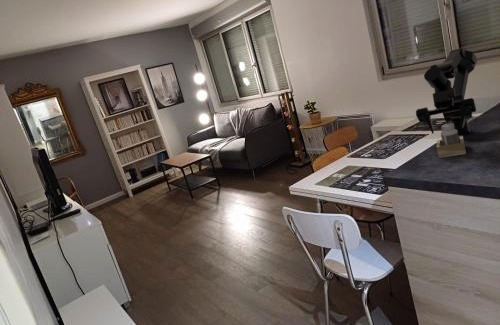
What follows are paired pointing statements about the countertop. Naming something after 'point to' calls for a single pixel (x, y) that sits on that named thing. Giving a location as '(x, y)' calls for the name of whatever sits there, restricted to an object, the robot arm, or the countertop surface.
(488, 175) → the countertop surface
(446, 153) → the birch socket stand
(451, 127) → the pill bottle
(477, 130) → the countertop surface
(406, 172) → the countertop surface
